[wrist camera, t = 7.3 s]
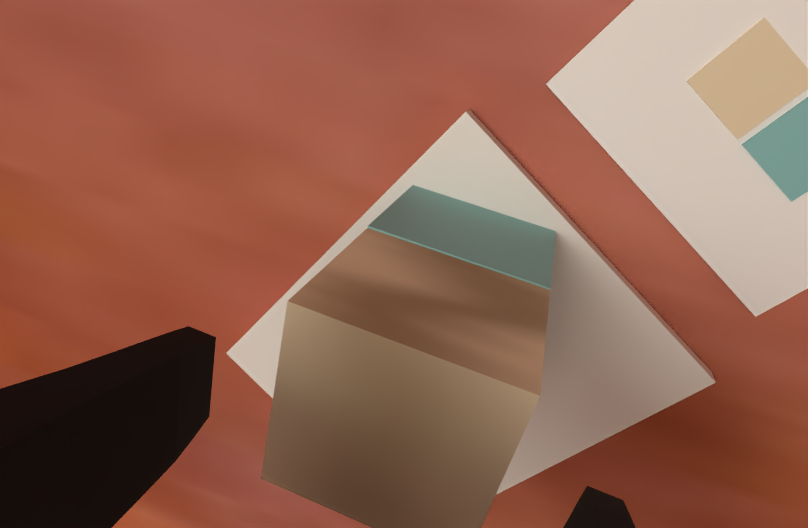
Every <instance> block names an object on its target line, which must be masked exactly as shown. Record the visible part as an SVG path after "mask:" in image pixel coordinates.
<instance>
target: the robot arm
mask: <svg viewBox="0 0 808 528" xmlns="http://www.w3.org/2000/svg"><path fill="white" fill-rule="evenodd" d="M215 341H216V337H214V336H211V335H209V334H206V333H204V332H201V331H199V330H196V329H194V328H191V327H189V326H188V327H185V328H182V329H178V330H175V331H172V332H169V333H166V334H163V335H160V336H158V337H155V338H152V339H149V340H146V341H143V342H141V343H138V344H135V345H132V346H129V347H127V348H124V349H121V350H118V351H115V352H112V353H110V354H107V355H104V356H101V357H98V358H95V359H92V360H89V361H86V362H84V363H81V364H78V365H75V366H72V367H69V368H66V369H63V370H60V371H57V372H53V373H50V374H47V375H44V376H40V377H37V378H34V379H31V380H27V381H24V382H21V383H18V384H14V385H11V386H8V387H5V388H2V389H0V528H112V527H113V526H114V524H115V523H116V522H117V521H118V520H119V519H120V518H121V517H122V516H123V515H124V514H125V513H126V512H127V511H128V510H129V509H130V508H131V507H132V506H133V505H134V504H135V503H136V502H137V501H138V500H139V499H140V498H141V497H142V496H143V495H144V494H145V493H146V491H147V490H148V489H149V488H150V487H151V486H152V485H153V484H154V483H155V482H156V481H157V480H158V479H159V478H160V477H161V476H162V475H163V474H164V473H165V472H166V471H167V469H168V468H169V467H170V466H171V465H172V464H173V463H174V462H175V461H176V460H177V458H178V457H179V456H180V455H181V453H182V452H183V451H184V449H185V448H186V447H187V446H188V444H189V443H190V442H191V440H192V439H193V438H194V436H195V435H196V434H197V432H198V431H199V430H200V428H201V427H202V426H203V424H204V423H205V421H206V420H207V419H208V417H209V412H210V400H211V388H212V376H213V364H214V352H215ZM564 528H635V525H634V523H633V521H632V519H631V516H630V514H629V512H628V510H627V508H626V505H625V503H624V501H623V500H621V499H618V498H616V497H613V496H611V495H608V494H606V493H603V492H601V491H598V490H596V489H593V488H591V487H588V486H587V487H586V489H585V490H584V492H583V494H582V496H581V498H580V499H579V501H578V503H577V505H576V506H575V508H574V510H573V512H572V514H571V515H570V517H569V519H568V521H567V522H566V524H565V526H564Z"/></svg>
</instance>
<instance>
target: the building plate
mask: <svg viewBox="0 0 808 528" xmlns="http://www.w3.org/2000/svg"><path fill="white" fill-rule="evenodd" d="M412 185H415V186H418V187H421V188H424V189H427V190H430V191H433V192H437V193H440V194H443V195H446V196H449V197H452V198H455V199H458V200H461V201H464V202H467V203H471V204H474V205H477V206H480V207H483V208H486V209H489V210H492V211H495V212H498V213H501V214H505V215H508V216H511V217H514V218H517V219H520V220H523V221H526V222H529V223H532V224H535V225H539V226H542V227H545V228H548V229H551V230H554V231H556V236H555V247H554V258H553V269H552V280H551V289H550V298H549V309H548V319H547V330H546V341H545V351H544V362H543V373H542V383H541V394H540V398H539V400H538V402H537V404H536V407H535V409H534V411H533V413H532V416H531V418H530V420H529V422H528V424H527V427H526V429H525V431H524V433H523V435H522V438H521V440H520V442H519V444H518V447H517V449H516V451H515V453H514V455H513V458H512V460H511V462H510V464H509V466H508V469H507V471H506V473H505V475H504V478H503V480H502V482H501V484H500V486H499V489H498V491H497V493H496V495H497V494H498V493H500V492H502V491H504V490H506V489H508V488H510V487H512V486H514V485H516V484H518V483H520V482H522V481H524V480H526V479H528V478H530V477H532V476H534V475H536V474H538V473H540V472H542V471H544V470H546V469H547V468H549V467H551V466H553V465H555V464H557V463H559V462H561V461H563V460H565V459H567V458H569V457H571V456H573V455H575V454H577V453H579V452H581V451H583V450H585V449H587V448H589V447H591V446H593V445H595V444H596V443H598V442H600V441H602V440H604V439H606V438H608V437H610V436H612V435H614V434H616V433H618V432H620V431H622V430H624V429H626V428H628V427H630V426H632V425H634V424H636V423H638V422H640V421H642V420H644V419H645V418H647V417H649V416H651V415H653V414H655V413H657V412H659V411H661V410H663V409H665V408H667V407H669V406H671V405H673V404H675V403H677V402H679V401H681V400H683V399H685V398H687V397H689V396H691V395H693V394H694V393H696V392H698V391H700V390H702V389H704V388H706V387H708V386H710V385H712V384H714V383H716V382H715V379H714V377H713V374H712V372H711V371H710V369H709V368H708V367H707V366H706V365H705V364H704V363H703V362H702V361H701V360H700V359H699V358H698V356H697V355H696V354H695V353H694V352H693V351H692V350H691V349H690V348H689V347H688V346H687V345H686V343H685V342H684V341H683V340H682V339H681V338H680V337H679V336H678V335H677V334H676V333H675V332H674V330H673V329H672V328H671V327H670V326H669V325H668V324H667V323H666V322H665V321H664V320H663V319H662V317H661V316H660V315H659V314H658V313H657V312H656V311H655V310H654V309H653V308H652V307H651V305H650V304H649V303H648V302H647V301H646V300H645V299H644V298H643V297H642V296H641V295H640V294H639V292H638V291H637V290H636V289H635V288H634V287H633V286H632V285H631V284H630V283H629V282H628V281H627V279H626V278H625V277H624V276H623V275H622V274H621V273H620V272H619V271H618V270H617V269H616V268H615V266H614V265H613V264H612V263H611V262H610V261H609V260H608V259H607V258H606V257H605V256H604V255H603V253H602V252H601V251H600V250H599V249H598V248H597V247H596V246H595V245H594V244H593V243H592V242H591V240H590V239H589V238H588V237H587V236H586V235H585V234H584V233H583V232H582V231H581V230H580V228H579V227H578V226H577V225H576V224H575V223H574V222H573V221H572V220H571V219H570V218H569V217H568V215H567V214H566V213H565V212H564V211H563V210H562V209H561V208H560V207H559V206H558V205H557V204H556V202H555V201H554V200H553V199H552V198H551V197H550V196H549V195H548V194H547V193H546V192H545V191H544V189H543V188H542V187H541V186H540V185H539V184H538V183H537V182H536V181H535V180H534V179H533V178H532V176H531V175H530V174H529V173H528V172H527V171H526V170H525V169H524V168H523V167H522V166H521V165H520V163H519V162H518V161H517V160H516V159H515V158H514V157H513V156H512V155H511V154H510V153H509V151H508V150H507V149H506V148H505V147H504V146H503V145H502V144H501V143H500V142H499V141H498V140H497V138H496V137H495V136H494V135H493V134H492V133H491V132H490V131H489V130H488V129H487V128H486V127H485V125H484V124H483V123H482V122H481V121H480V120H479V119H478V118H477V117H476V116H475V115H474V114H473V112H472V111H471V110H470V109H469V110H468V111H466V112H465V113H464V114H463V115H462V116H461V117H460V118H459V119H458V120H457V121H456V122H455V123H454V124H453V125H452V126H451V127H450V128H449V129H448V130H447V131H446V132H445V133H444V134H443V135H442V136H441V137H440V138H439V139H438V140H437V141H436V142H435V143H434V144H433V145H432V146H431V147H430V148H429V149H428V150H427V151H426V152H425V153H424V154H423V155H422V156H421V157H420V158H419V159H418V160H417V161H416V162H415V163H414V164H413V165H412V166H411V167H410V168H409V169H408V170H407V172H406V173H405V174H404V175H403V176H402V177H401V178H400V179H399V180H398V181H397V182H396V183H395V184H394V185H393V186H392V187H391V188H390V189H389V190H388V191H387V192H386V193H385V194H384V195H383V196H382V197H381V198H380V199H379V200H378V201H377V202H376V203H375V204H374V205H373V206H372V207H371V208H370V209H369V210H368V211H367V212H366V213H365V214H364V215H363V216H362V217H361V218H360V219H359V220H358V221H357V222H356V223H355V224H354V225H353V226H352V227H351V228H350V229H349V230H348V231H347V232H346V233H345V234H344V235H343V236H342V237H341V238H340V239H339V240H338V241H337V242H336V243H335V244H334V245H333V246H332V247H331V248H330V249H329V250H328V251H327V252H326V253H325V254H324V255H323V256H322V257H321V258H320V259H319V260H318V261H317V262H316V263H315V264H314V265H313V266H312V267H311V268H310V269H309V270H308V271H307V272H306V273H305V274H304V275H303V276H302V277H301V278H300V279H299V280H298V281H297V282H296V283H295V284H294V285H293V286H292V287H291V288H290V289H289V290H288V291H287V292H286V293H285V294H284V295H283V296H282V297H281V299H280V300H279V301H278V302H277V303H276V304H275V305H274V306H273V307H272V308H271V309H270V310H269V311H268V312H267V313H266V314H265V315H264V316H263V317H262V318H261V319H260V320H259V321H258V322H257V323H256V324H255V325H254V326H253V327H252V328H251V329H250V330H249V331H248V332H247V333H246V334H245V335H244V336H243V337H242V338H241V339H240V340H239V341H238V342H237V343H236V344H235V345H234V346H233V347H232V348H231V349H230V350H229V351H228V352H227V353H226V354H228V355H229V356H230V357H231V358H232V359H233V360H234V361H235V362H236V363H237V364H238V365H239V366H240V367H241V368H242V369H243V370H244V371H245V372H246V373H247V374H248V375H249V376H250V377H251V378H252V379H253V380H254V381H255V382H256V383H257V384H258V385H259V386H260V387H261V388H262V389H264V390H265V391H266V392H267V393H268V394H269V395H270V396H271V397H272V398H273V395H274V388H275V381H276V375H277V368H278V361H279V354H280V348H281V341H282V334H283V328H284V321H285V314H286V308H287V301H288V300H289V299H290V298H291V297H292V296H294V295H295V294H296V293H297V292H298V291H299V290H300V289H301V288H302V287H303V286H304V285H306V284H307V283H308V282H309V281H310V280H311V279H312V278H313V277H314V276H315V275H316V274H318V273H319V272H320V271H321V270H322V269H323V268H324V267H325V266H326V265H327V264H328V263H330V262H331V261H332V260H333V259H334V258H335V257H336V256H337V255H338V254H339V253H340V252H342V251H343V250H344V249H345V248H346V247H347V246H348V245H349V244H350V243H351V242H352V241H354V240H355V239H356V238H357V237H358V236H359V235H360V234H361V233H362V232H363V231H364V230H366V229H367V227H368V225H369V224H370V223H371V222H373V221H374V220H375V219H376V218H377V217H378V216H379V215H380V214H381V213H382V212H384V211H385V210H386V209H387V208H388V207H389V206H390V205H391V204H392V203H393V202H395V201H396V200H397V199H398V198H399V197H400V196H401V195H402V194H403V193H404V192H406V191H407V190H408V189H409V188H410V187H411V186H412Z"/></svg>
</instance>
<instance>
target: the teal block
mask: <svg viewBox="0 0 808 528" xmlns="http://www.w3.org/2000/svg"><path fill="white" fill-rule="evenodd" d="M367 228H370V229H373V230H376V231H379V232H382V233H385V234H388V235H391V236H394V237H397V238H399V239H402V240H405V241H408V242H411V243H414V244H417V245H420V246H423V247H426V248H429V249H432V250H435V251H438V252H441V253H443V254H446V255H449V256H452V257H455V258H458V259H461V260H464V261H467V262H470V263H473V264H476V265H479V266H482V267H485V268H488V269H490V270H493V271H496V272H499V273H502V274H505V275H508V276H511V277H514V278H517V279H520V280H523V281H526V282H529V283H532V284H535V285H537V286H540V287H543V288H546V289H549V290H550V289H551V280H552V269H553V258H554V247H555V236H556V231H554V230H551V229H548V228H545V227H542V226H539V225H535V224H532V223H529V222H526V221H523V220H520V219H517V218H514V217H511V216H508V215H505V214H501V213H498V212H495V211H492V210H489V209H486V208H483V207H480V206H477V205H474V204H471V203H467V202H464V201H461V200H458V199H455V198H452V197H449V196H446V195H443V194H440V193H437V192H433V191H430V190H427V189H424V188H421V187H418V186H415V185H412V186H411V187H410V188H409V189H408V190H407V191H406V192H404V193H403V194H402V195H401V196H400V197H399V198H398V199H397V200H396V201H395V202H393V203H392V204H391V205H390V206H389V207H388V208H387V209H386V210H385V211H384V212H382V213H381V214H380V215H379V216H378V217H377V218H376V219H375V220H374V221H373V222H371V223H370V224H369V225H368V227H367Z"/></svg>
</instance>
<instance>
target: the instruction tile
mask: <svg viewBox="0 0 808 528" xmlns="http://www.w3.org/2000/svg"><path fill="white" fill-rule="evenodd" d="M546 85H547V86H548V87H549V88H550V89H551V90H552V92H553V93H554V94H555V95H556V96H557V97H558V98H559V99H560V100H561V102H562V103H563V104H564V105H565V106H566V107H567V108H568V109H569V110H570V112H571V113H572V114H573V115H574V116H575V117H576V118H577V119H578V120H579V121H580V123H581V124H582V125H583V126H584V127H585V128H586V129H587V130H588V131H589V133H590V134H591V135H592V136H593V137H594V138H595V139H596V140H597V141H598V143H599V144H600V145H601V146H602V147H603V148H604V149H605V150H606V151H607V153H608V154H609V155H610V156H611V157H612V158H613V159H614V160H615V161H616V163H617V164H618V165H619V166H620V167H621V168H622V169H623V170H624V171H625V173H626V174H627V175H628V176H629V177H630V178H631V179H632V180H633V181H634V183H635V184H636V185H637V186H638V187H639V188H640V189H641V190H642V191H643V193H644V194H645V195H646V196H647V197H648V198H649V199H650V200H651V201H652V203H653V204H654V205H655V206H656V207H657V208H658V209H659V210H660V211H661V213H662V214H663V215H664V216H665V217H666V218H667V219H668V220H669V221H670V223H671V224H672V225H673V226H674V227H675V228H676V229H677V230H678V231H679V233H680V234H681V235H682V236H683V237H684V238H685V239H686V240H687V241H688V243H689V244H690V245H691V246H692V247H693V248H694V249H695V250H696V251H697V252H698V254H699V255H700V256H701V257H702V258H703V259H704V260H705V261H706V262H707V264H708V265H709V266H710V267H711V268H712V269H713V270H714V271H715V272H716V274H717V275H718V276H719V277H720V278H721V279H722V280H723V281H724V282H725V284H726V285H727V286H728V287H729V288H730V289H731V290H732V291H733V292H734V294H735V295H736V296H737V297H738V298H739V299H740V300H741V301H742V302H743V304H744V305H745V306H746V307H747V308H748V309H749V310H750V311H751V312H752V314H753V315H754V316H755V317H756V316H758V315H760V314H762V313H764V312H765V311H767V310H769V309H771V308H773V307H775V306H776V305H778V304H780V303H782V302H784V301H785V300H787V299H789V298H791V297H793V296H794V295H796V294H798V293H800V292H802V291H803V290H805V289H807V288H808V0H634V1H633V2H632V3H631V4H630V5H629V6H628V7H627V8H625V9H624V10H623V11H622V12H621V13H620V14H619V15H618V16H617V17H616V18H615V19H614V20H613V21H612V22H611V23H610V24H609V25H608V26H606V27H605V28H604V29H603V30H602V31H601V32H600V33H599V34H598V35H597V36H596V37H595V38H594V39H593V40H592V41H591V42H590V43H589V44H587V45H586V46H585V47H584V48H583V49H582V50H581V51H580V52H579V53H578V54H577V55H576V56H575V57H574V58H573V59H572V60H571V61H570V62H568V63H567V64H566V65H565V66H564V67H563V68H562V69H561V70H560V71H559V72H558V73H557V74H556V75H555V76H554V77H553V78H552V79H551V80H549V81H548V82H547V83H546Z"/></svg>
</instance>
